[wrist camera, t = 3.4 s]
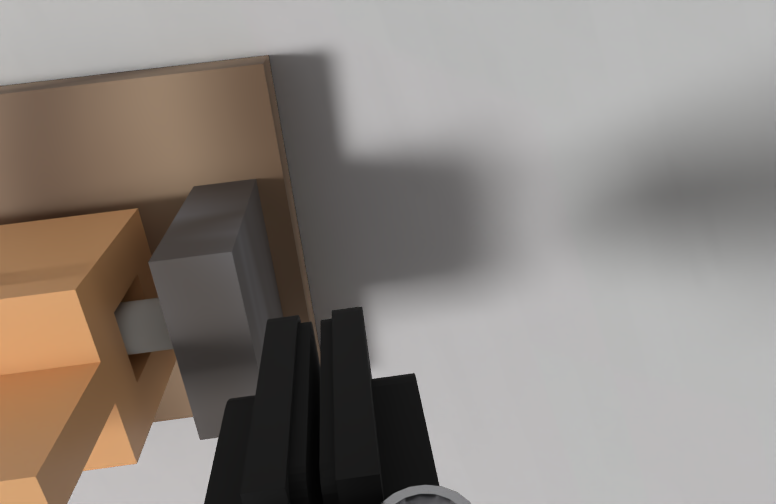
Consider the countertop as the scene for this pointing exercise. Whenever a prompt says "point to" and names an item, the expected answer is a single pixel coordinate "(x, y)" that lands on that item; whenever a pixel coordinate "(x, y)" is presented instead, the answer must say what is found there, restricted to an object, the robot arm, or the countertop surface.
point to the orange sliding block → (72, 353)
